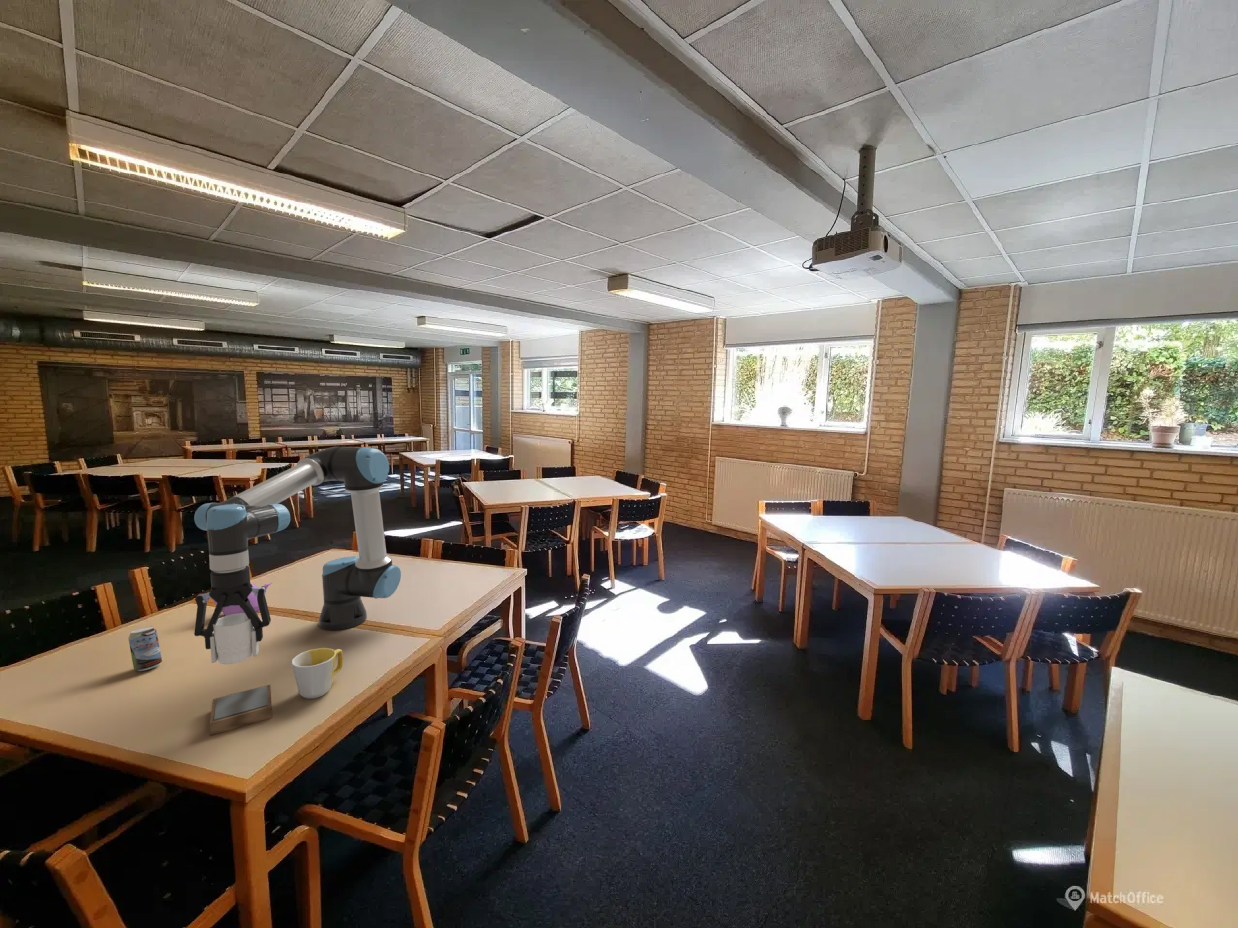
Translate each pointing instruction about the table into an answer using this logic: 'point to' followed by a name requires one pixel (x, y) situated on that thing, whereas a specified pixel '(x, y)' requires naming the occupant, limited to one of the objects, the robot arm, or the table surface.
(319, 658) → the mug
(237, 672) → the table surface
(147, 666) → the beverage can
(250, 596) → the teapot
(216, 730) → the walnut picture frame
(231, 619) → the white cup
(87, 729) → the table surface
